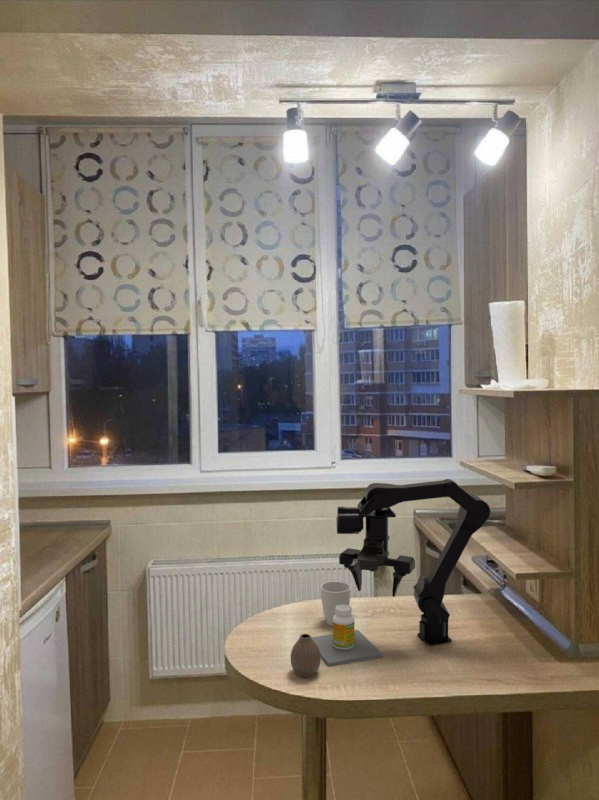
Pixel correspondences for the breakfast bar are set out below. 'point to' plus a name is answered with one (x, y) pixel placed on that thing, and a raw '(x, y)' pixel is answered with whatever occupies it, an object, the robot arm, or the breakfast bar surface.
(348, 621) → the supplement bottle
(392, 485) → the robot arm
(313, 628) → the breakfast bar surface
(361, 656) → the slate mat
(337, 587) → the cup
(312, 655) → the vase
